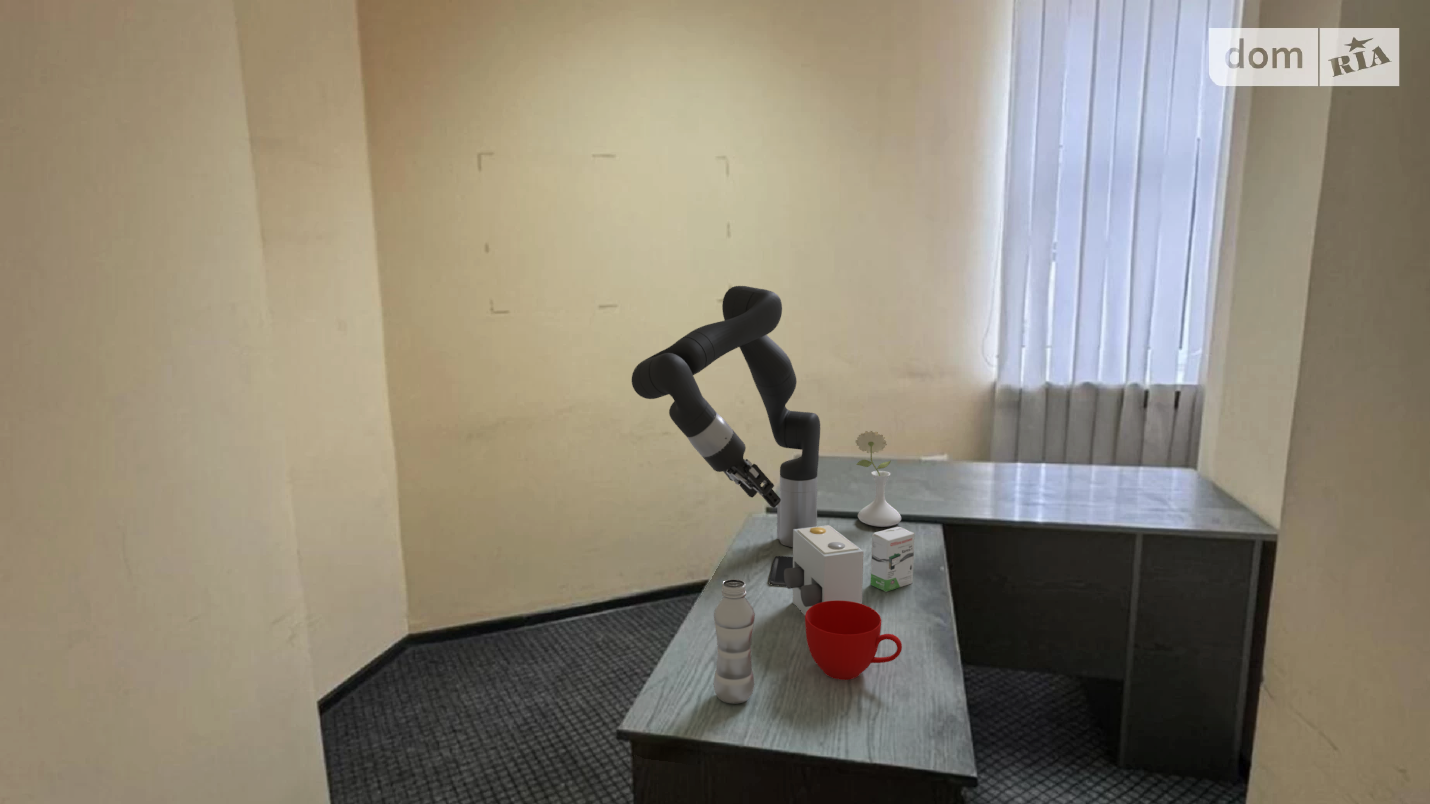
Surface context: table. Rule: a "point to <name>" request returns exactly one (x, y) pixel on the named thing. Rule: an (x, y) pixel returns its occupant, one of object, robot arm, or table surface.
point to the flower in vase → (879, 508)
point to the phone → (780, 569)
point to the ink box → (892, 558)
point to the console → (828, 564)
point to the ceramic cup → (845, 638)
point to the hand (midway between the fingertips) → (765, 498)
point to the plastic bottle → (734, 644)
